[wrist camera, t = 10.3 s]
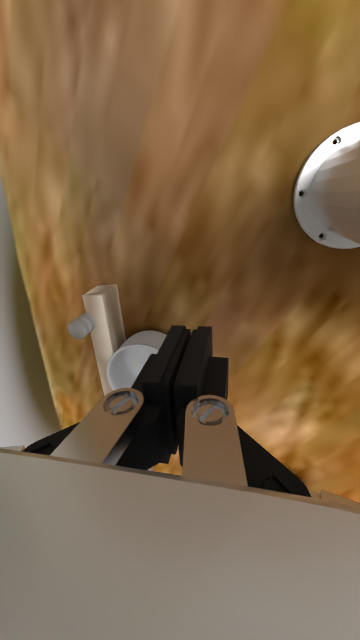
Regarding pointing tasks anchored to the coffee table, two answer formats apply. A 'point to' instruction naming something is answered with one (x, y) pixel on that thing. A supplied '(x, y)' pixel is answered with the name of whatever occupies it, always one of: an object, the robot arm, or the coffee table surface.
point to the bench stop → (101, 326)
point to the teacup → (132, 358)
